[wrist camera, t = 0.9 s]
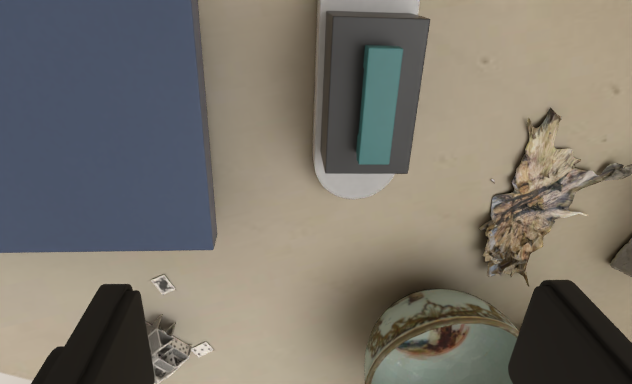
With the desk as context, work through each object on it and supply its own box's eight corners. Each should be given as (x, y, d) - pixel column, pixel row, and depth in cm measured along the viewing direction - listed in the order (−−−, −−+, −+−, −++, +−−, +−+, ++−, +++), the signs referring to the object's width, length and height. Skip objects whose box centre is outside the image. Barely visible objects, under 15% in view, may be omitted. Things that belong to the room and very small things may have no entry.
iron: (317, -10, 26) (329, -5, 20) (412, -6, 27) (452, -1, 21) (311, 188, 33) (318, 239, 26) (388, 188, 33) (413, 238, 27)
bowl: (502, 343, 42) (548, 419, 34) (371, 382, 43) (389, 463, 36) (482, 233, 35) (533, 298, 28) (329, 282, 37) (341, 356, 29)
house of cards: (243, 325, 38) (235, 401, 31) (182, 376, 41) (163, 457, 34) (159, 271, 35) (129, 343, 28) (99, 330, 37) (58, 410, 30)
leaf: (474, 282, 38) (484, 297, 36) (484, 115, 31) (496, 123, 29) (598, 263, 38) (614, 277, 36) (635, 93, 31) (657, 100, 29)
